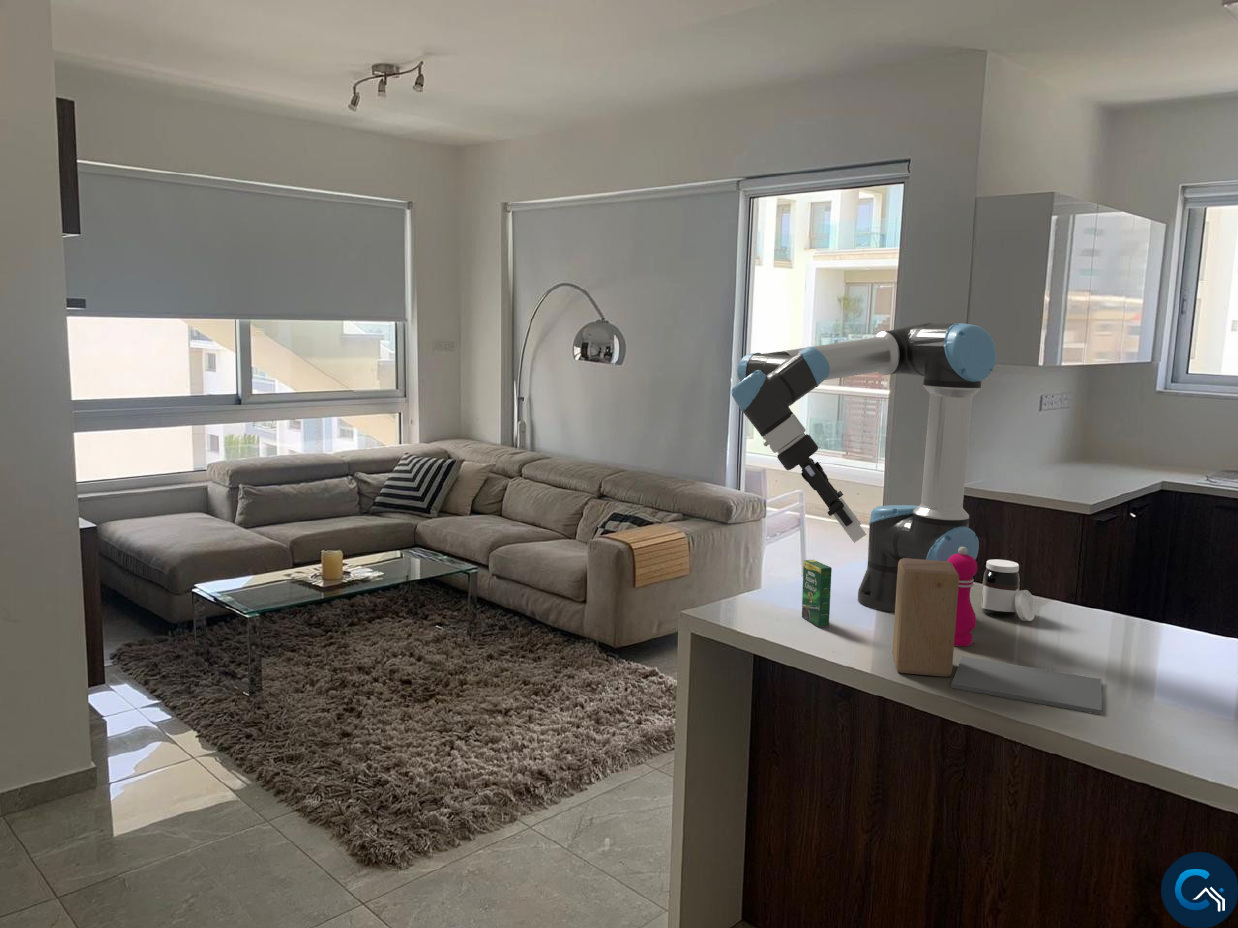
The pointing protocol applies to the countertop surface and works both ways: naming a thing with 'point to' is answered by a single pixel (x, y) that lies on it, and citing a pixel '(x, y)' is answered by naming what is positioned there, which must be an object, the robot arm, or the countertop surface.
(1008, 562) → the spread jar
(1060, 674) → the mat
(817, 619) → the coffee box
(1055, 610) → the countertop surface
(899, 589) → the wooden block
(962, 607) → the pepper mill
